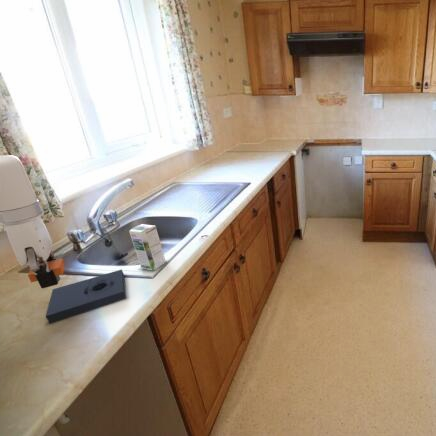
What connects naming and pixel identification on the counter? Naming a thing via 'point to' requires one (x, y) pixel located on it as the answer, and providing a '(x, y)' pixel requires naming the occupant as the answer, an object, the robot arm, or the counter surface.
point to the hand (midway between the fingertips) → (51, 279)
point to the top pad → (54, 265)
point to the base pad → (86, 295)
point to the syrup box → (147, 246)
